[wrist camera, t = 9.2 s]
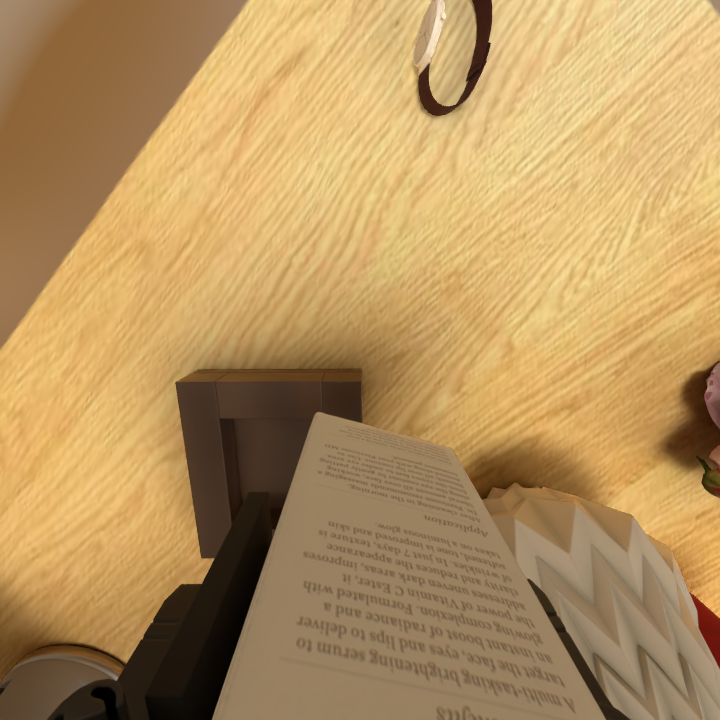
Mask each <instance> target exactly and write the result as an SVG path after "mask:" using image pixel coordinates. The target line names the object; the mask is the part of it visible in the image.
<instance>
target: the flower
mask: <svg viewBox="0 0 720 720" xmlns="http://www.w3.org/2000/svg"><path fill="white" fill-rule="evenodd" d="M710 374H711V375H710V376H709V377H708V378H707V379H706V383H707V386H708V388H707V390H706V392H705V395H704V398H705V402H706V405H707V408H708V411H709V414H710V416H711V418H712V420H713V421H714V423H715V424H716V425H717V426H718V428H719V429H720V363H718V364H717V365H715V367H714V369H713V370H712V371H711V373H710ZM696 457H697V459H698V460H699V462H700V463H701V465H702V466H703V468H704V470H705V473H704V474H703V479H702V485H703V486H704V488H705V489H706V490H707V491H708V492H709V493H711V494H713V495H714V496H716V497H719V498H720V444H719V445H718V446H717V447H716V448H714V449H713V451H712V452H711V454H710V456H709V458H710V459H711V461H712V462H713V463H714V464H715V465H716V467H717V470H711V469H710V467H709V466H708V465H707V464H706V462H705V461H704V460H702V459H701V458H699V457H698V456H696Z"/></svg>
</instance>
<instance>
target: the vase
mask: <svg viewBox="0 0 720 720" xmlns="http://www.w3.org/2000/svg"><path fill="white" fill-rule="evenodd" d="M481 500H482V501H483V503H484V505H485V507H486V508H487V510H488V512H489V514H490V515H491V517H492V519H493V521H494V522H495V524H496V526H497V528H498V530H499V531H500V533H501V535H502V537H503V539H504V540H505V542H506V544H507V546H508V547H509V549H510V551H511V552H512V554H513V556H514V558H515V560H516V561H517V563H518V565H519V567H520V569H521V570H522V572H523V574H524V576H525V577H526V579H530V580H532V581H533V582H534V583H535V584H536V585H537V586H538V587H539V588H540V589H541V590H542V591H543V592H544V593H545V594H546V596H547V597H548V599H549V601H550V602H551V604H552V606H553V607H554V609H555V611H556V612H557V616H559V617H560V619H561V621H562V623H563V624H564V626H565V628H566V631H567V633H569V634H570V636H571V638H572V639H573V641H574V643H575V644H576V646H577V648H578V650H579V651H580V653H581V655H582V656H583V658H584V660H585V661H586V663H587V665H588V666H589V668H590V670H591V671H592V673H593V675H594V677H595V678H596V680H597V682H598V683H599V685H600V687H601V688H602V690H603V692H604V693H605V695H606V697H607V698H608V699H609V701H610V702H611V704H612V705H613V707H614V708H616V709H618V710H620V711H621V712H622V713H623V714H624V715H626V716H627V717H628V718H629V719H630V720H720V669H719V667H718V665H717V663H716V661H715V659H714V657H713V655H712V653H711V651H710V649H709V648H708V646H707V644H706V642H705V640H704V638H703V636H702V634H701V632H700V630H699V628H698V613H697V609H696V607H695V605H694V602H693V600H692V597H691V595H690V593H689V590H688V588H687V585H686V583H685V581H684V578H683V576H682V574H681V571H680V569H679V566H678V564H677V562H676V559H675V557H674V554H673V552H672V550H671V549H670V548H669V547H668V546H666V545H664V544H663V543H661V542H659V541H657V540H656V539H654V538H652V537H650V536H649V535H647V534H645V532H644V531H643V530H642V528H641V527H640V525H639V524H638V523H637V521H636V520H635V518H634V517H633V516H632V515H630V514H628V513H624V512H621V511H618V510H615V509H612V508H608V507H605V506H602V505H599V504H596V503H592V502H590V501H587V500H585V499H583V498H581V497H579V496H576V495H572V494H568V493H565V492H561V491H557V490H554V489H550V488H546V487H542V488H539V487H533V488H524V487H522V486H521V485H519V484H518V483H516V482H515V483H514V484H512V485H511V486H509V487H508V488H507V489H500V488H494V487H493V488H492V490H491V491H490V493H489V495H488V497H487V498H484V499H481Z"/></svg>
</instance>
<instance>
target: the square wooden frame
mask: <svg viewBox="0 0 720 720" xmlns="http://www.w3.org/2000/svg"><path fill="white" fill-rule="evenodd" d="M176 390H177V396H178V403H179V410H180V417H181V424H182V430H183V437H184V444H185V451H186V457H187V464H188V471H189V478H190V485H191V491H192V498H193V505H194V512H195V518H196V525H197V532H198V539H199V546H200V552H201V558H215V557H216V555H217V553H218V552H219V550H220V548H221V546H222V544H223V542H224V540H225V538H226V536H227V534H228V532H229V530H230V528H231V526H232V524H233V522H234V520H235V518H236V516H237V514H238V512H239V510H240V508H241V507H242V505H243V503H244V501H245V499H246V497H247V495H248V493H249V492H269V503H270V514H271V526H272V538H273V536H274V534H275V531H276V528H277V525H278V522H279V519H280V516H281V513H282V510H283V507H284V504H285V501H286V498H287V495H288V492H289V489H290V486H291V483H292V480H293V477H294V474H295V471H296V468H297V465H298V462H299V459H300V456H301V453H302V450H303V447H304V444H305V441H306V438H307V435H308V432H309V429H310V426H311V423H312V420H313V418H314V415H315V414H316V413H317V412H321V413H325V414H328V415H332V416H336V417H339V418H343V419H347V420H351V421H355V422H359V423H362V369H246V370H196V371H194V372H193V373H191V374H189V375H187V376H186V377H184V378H182V379H180V380H179V381H177V382H176Z"/></svg>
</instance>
